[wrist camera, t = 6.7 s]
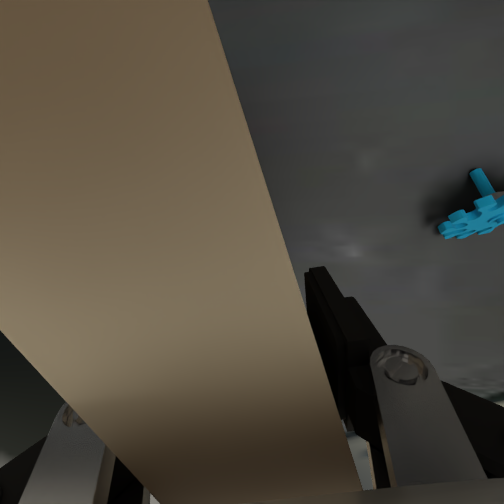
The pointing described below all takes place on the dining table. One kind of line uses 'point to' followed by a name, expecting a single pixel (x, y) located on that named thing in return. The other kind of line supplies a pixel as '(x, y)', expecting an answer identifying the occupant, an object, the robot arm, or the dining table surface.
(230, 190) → the rail
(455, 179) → the dining table surface
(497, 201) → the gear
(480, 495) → the robot arm
